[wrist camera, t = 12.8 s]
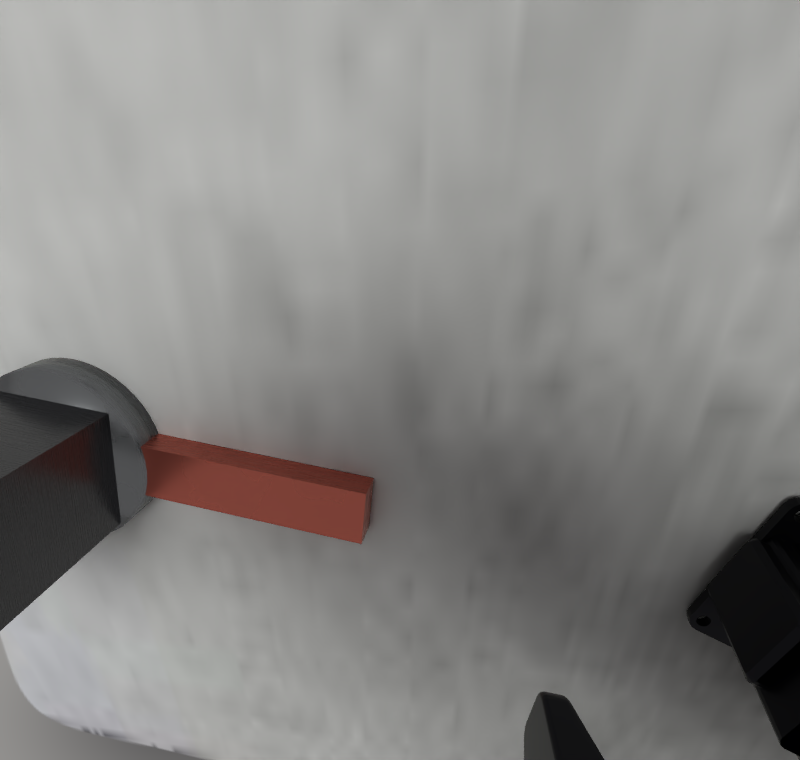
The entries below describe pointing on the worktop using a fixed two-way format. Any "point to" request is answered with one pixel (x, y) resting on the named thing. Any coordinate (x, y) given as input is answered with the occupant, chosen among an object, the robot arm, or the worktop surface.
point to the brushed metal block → (50, 494)
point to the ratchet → (199, 461)
